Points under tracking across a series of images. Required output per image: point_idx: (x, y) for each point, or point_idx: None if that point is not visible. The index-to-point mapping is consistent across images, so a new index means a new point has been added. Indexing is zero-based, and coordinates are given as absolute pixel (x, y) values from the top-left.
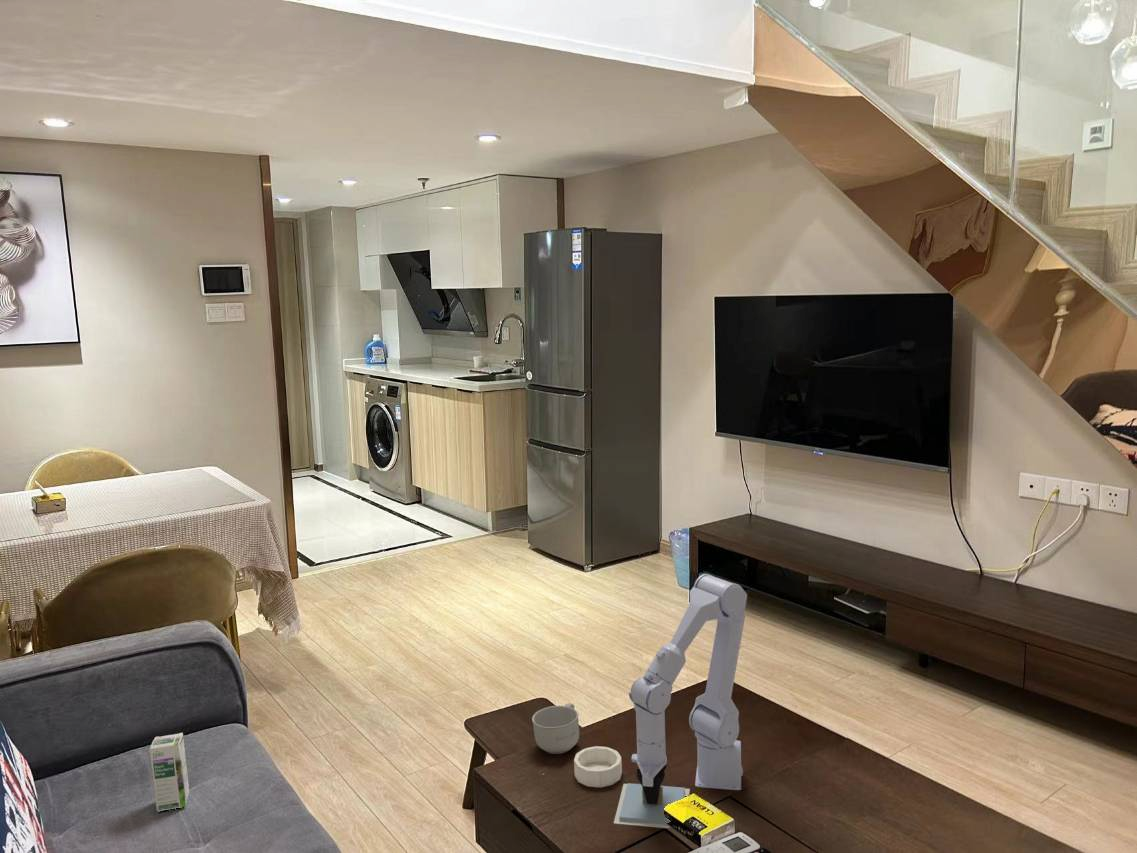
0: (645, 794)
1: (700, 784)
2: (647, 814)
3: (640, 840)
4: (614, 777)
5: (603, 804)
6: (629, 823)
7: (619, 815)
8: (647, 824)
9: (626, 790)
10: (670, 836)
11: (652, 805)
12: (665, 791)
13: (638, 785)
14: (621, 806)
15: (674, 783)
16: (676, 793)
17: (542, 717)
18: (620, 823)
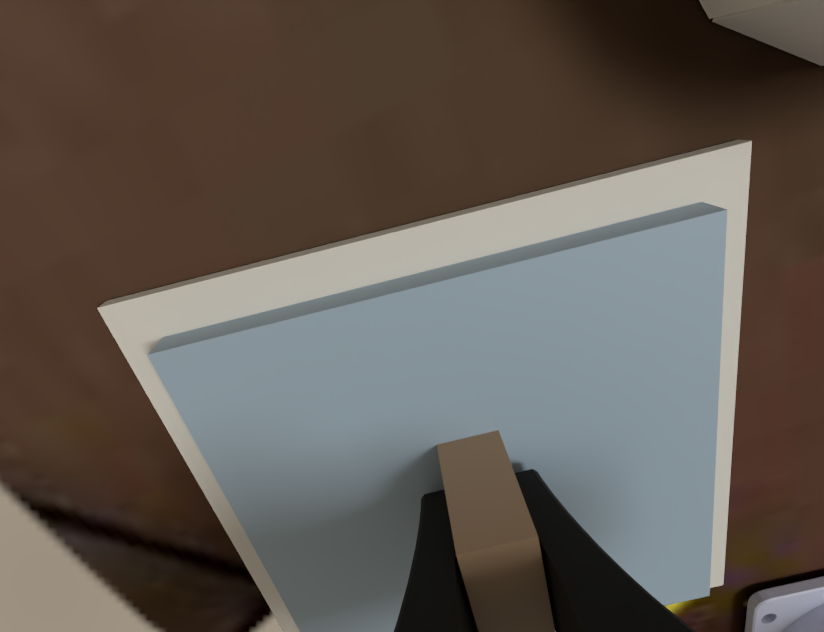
0: (413, 572)
1: (774, 616)
2: (307, 521)
3: (77, 522)
4: (819, 21)
5: (357, 66)
6: (175, 420)
7: (233, 309)
8: None
9: (590, 251)
10: (228, 627)
11: None
12: (641, 522)
13: (698, 322)
14: (369, 272)
15: (793, 482)
16: None
17: None
18: (134, 358)
